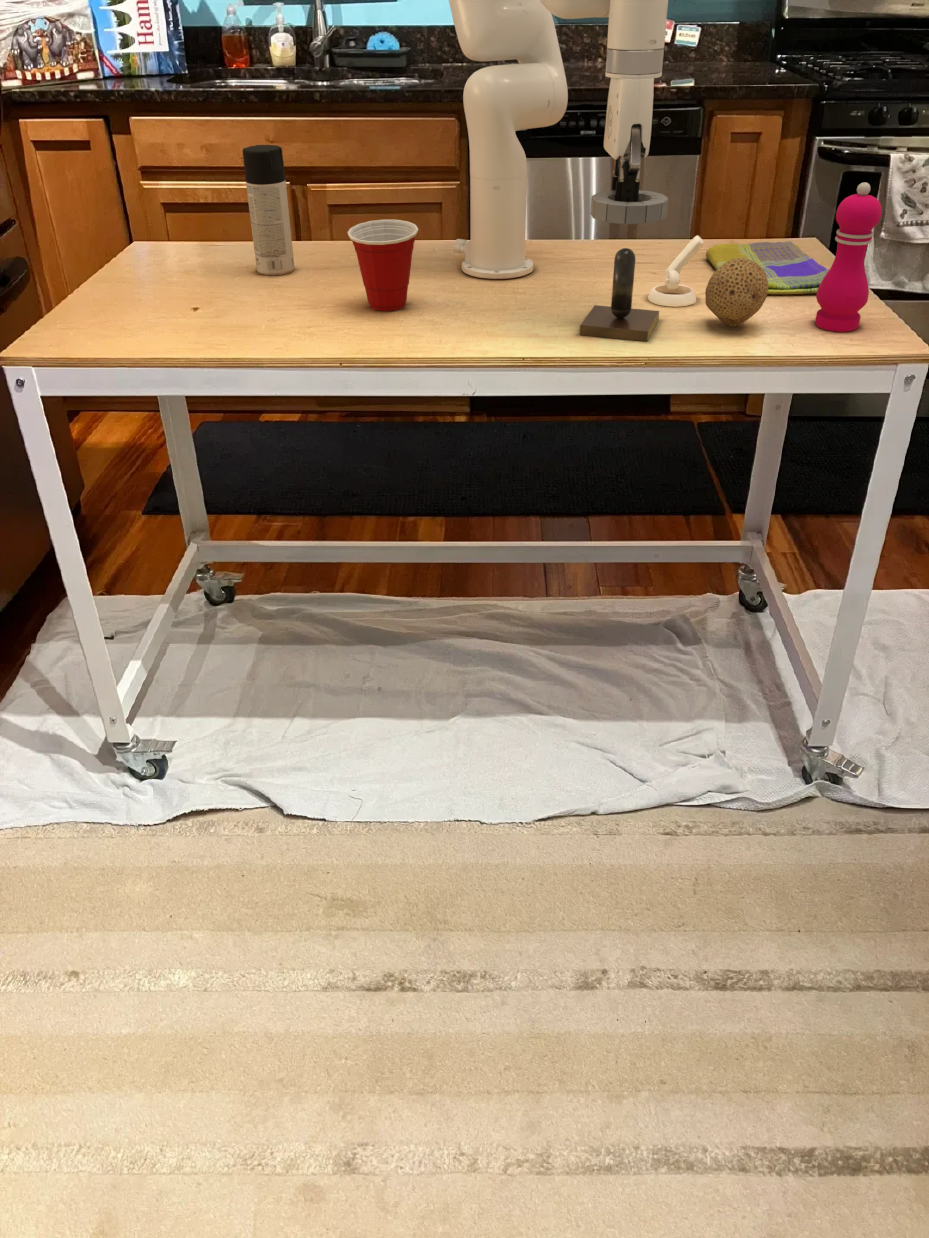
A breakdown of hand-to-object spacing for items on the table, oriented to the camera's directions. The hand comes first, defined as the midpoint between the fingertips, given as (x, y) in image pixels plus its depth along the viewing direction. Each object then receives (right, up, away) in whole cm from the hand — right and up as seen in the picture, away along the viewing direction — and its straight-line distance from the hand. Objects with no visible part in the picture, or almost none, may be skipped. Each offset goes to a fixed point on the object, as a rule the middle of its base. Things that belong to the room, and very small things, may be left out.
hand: (623, 208), depth 146 cm
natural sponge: (+17, -16, +6) cm, 24 cm away
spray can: (-56, +2, +33) cm, 65 cm away
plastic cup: (-35, -10, +15) cm, 40 cm away
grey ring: (0, -2, -3) cm, 4 cm away
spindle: (0, -16, +6) cm, 17 cm away
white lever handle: (+10, -8, +17) cm, 22 cm away
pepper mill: (+33, -15, +6) cm, 37 cm away
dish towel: (+29, 0, +28) cm, 41 cm away
